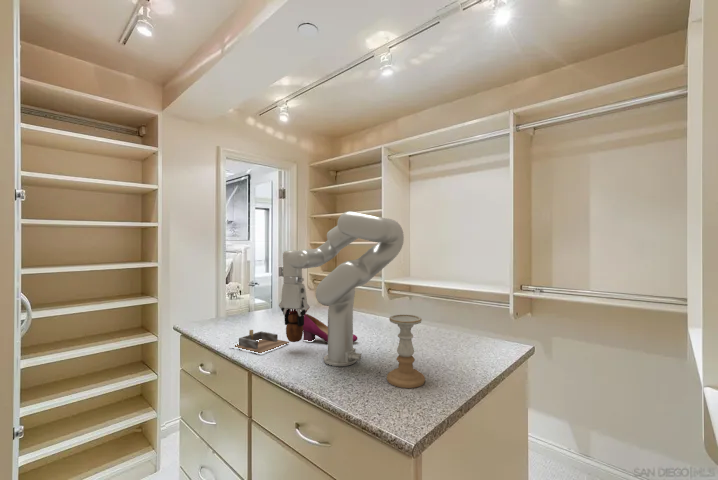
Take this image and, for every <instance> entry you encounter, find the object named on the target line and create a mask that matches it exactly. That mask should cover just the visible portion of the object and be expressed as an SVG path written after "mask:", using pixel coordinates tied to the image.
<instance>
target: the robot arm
mask: <svg viewBox="0 0 718 480" xmlns="http://www.w3.org/2000/svg"><path fill="white" fill-rule="evenodd" d="M404 236H405V234H404V231H403V228H402V226H401V225H400V223H399V222H398V221H396V220H394V219H392V218H388V217H387V218H386V217H381V216H374V215H370V214H364V213H362V212H358V211H352V210H349V211H345V212H343V213H342V214H341V215H339V217H338V219H337V225H336V226H334V227H333V228H331V229H330V230H328V232H327V233H326V239H327V240H326V241H325V242H324V243H322V244H321V245H319V246H318V247H316V248H308V249H307V248H306V249H299V250H298V249H297V250H295V249H293V250H285V251H283V253H282V270H283V274H282V275H283V277H282V278H283V284H282V289H281V301H280V302H279V304H278V307H279V309H280V310H281V312H282V315H283V316H284V317H283V318H284V325H285V326H287V324H288V323H290V322H289V321H288V316H289V314H290V310H291V311H292V309H293V310H294V309H296V310H297V312H298V315H299V316H298V317H297V318H298V326H299V327H300V326H302V325H304V315H305V314H307V312H308V311H309V309H310V308H311V306H310V305H309V304H308V300H307V297H308V296H307V291H306V286H305V284H304V283H303V282H304V281H305V278H304V277H303V270H304V269H311V268H319V267H321V266H323V265H325V264H327V263H328V262H330V261H331V260H333V259H334V258H335V257H336V256H337V255H338V254H339V253H340V252H341V250H343V249H344V248H346V247H347V246H349V245H350V244H352V243H353V242H355V241H356V240H358V239H359V240H360V239H361V240H365V241H367V242H368V241H369V242H373V243H376V244H374V245H373V246H371V247H370V248H369V249H368V250H367V251H365V252H364V253H363V254H362V255H360V256H359V257H358V258H356V259H353V260H346V261H344V262H342V263H340V264H339V265H337V266H336V267H335V268H334V269H333V270H332V271H330V272H329V273H328V274H327V275H326V276H325V277H324V278H323V279H321V281H320V282H319V283H318V285H317V286H316V288H315V298H316V300H317V301H318V303H319V304H321V305H322V306H324V307H325V306H326V307H328V310H327V326H328V343H327V354H326V355H324V357H323V362H324V363H325V364H326V365H328V364H329V365H328V366H331V365H332V366H331V367H347V366H351V365H353V364H355V363H357V362H360V361H361V360H362V353H359V352H356V351H357V349H356V348H355V347H354V342H353V334H354V302H355V297H356V296H355V294H356V289H355V288H357V287H361V286H364V285H366V284H367V283H369V282H370V281H371V279H373V278H374V277H375V276H376V275H377V274H379V273H380V272H381V271H382V270H383V269H384V268H385V267H387V266H388V265H389V264H390V263H391V262H392V261H394V259H395V258H396V257H397V256H398V255H399V254H400V252H401V251H402V248H403V245H404V242H405V241H404V240H405V239H404V238H405V237H404Z"/></svg>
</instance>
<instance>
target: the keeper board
mask: <svg viewBox="0 0 718 480" xmlns="http://www.w3.org/2000/svg"><path fill="white" fill-rule="evenodd" d="M248 334H249V335H244V336H241V337H239V338H238V342H239V345H238V344H237V346H236V345H235V347H238V348H242V349H246V350H250V351H254V352H258V353H262V352H265V351H268V350H271V349H274V348H276V347H279V346H281V345H284V344H287V343H289V344H290V341H288V340H287V341H286V340H281V339H278V337H279V336H278V334H277V333H271V332H266V331H258V332H254V329H249V333H248ZM259 339H262V340H259ZM256 340H259V342H258V341H256Z"/></svg>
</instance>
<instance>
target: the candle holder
mask: <svg viewBox="0 0 718 480" xmlns="http://www.w3.org/2000/svg"><path fill="white" fill-rule="evenodd" d="M388 319H389V320H388V321H389V322H390V323H392V324H395V325H397V327H398V328H399V333H398V334H397V337H398V339H399V342H398V345H397V348H396V352H397V354H398V356H396V362H397V363H398V367H396V368H394V369H392V370H391V371H389V372H388V373H387V375H386V380H387V383H389V384H390V385H392V386H393V387H397V388H402V389H414V388H415V389H416V388H419V387H422V386H423V385H425V382H426V377H425V375H424V374H423V373H422V372H420V370H419V371H418V370H417V369H416V368H414V365H413V364H414V362H415V360H416V359H415V357H414V356H413V355H414V353H415V348H414V346H413V341H412V340H413V338H414V335H413V334H412V328H413V327H414V325H419V324H421V323H422V321H423V319H422V317H421V316H418V315H413V314H395V315H391V316H390V317H389V318H388Z"/></svg>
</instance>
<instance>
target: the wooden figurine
mask: <svg viewBox="0 0 718 480" xmlns="http://www.w3.org/2000/svg"><path fill="white" fill-rule="evenodd" d="M298 316H299V315H298V312H297V309H291V310H290V313H289V316H288V321H289V322H290V323H288V324H287V325H285V336H286V338H287V341H288V342H289V343H290V342H292V343H297V342H301V340H303V337H304V334H303V325H302V326H300V327H299V326H298V318H297V317H298Z"/></svg>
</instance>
